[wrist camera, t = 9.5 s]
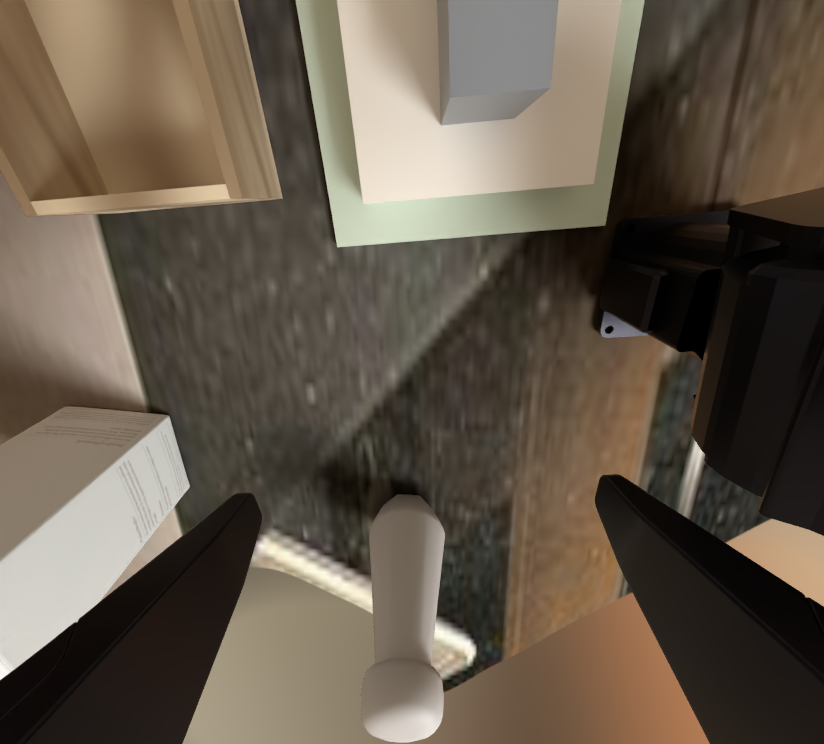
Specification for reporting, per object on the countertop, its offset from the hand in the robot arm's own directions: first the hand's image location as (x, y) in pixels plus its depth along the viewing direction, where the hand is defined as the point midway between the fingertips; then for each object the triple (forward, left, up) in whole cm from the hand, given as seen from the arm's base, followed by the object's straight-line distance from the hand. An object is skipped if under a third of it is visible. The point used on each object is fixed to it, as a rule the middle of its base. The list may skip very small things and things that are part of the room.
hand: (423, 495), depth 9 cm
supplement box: (+22, +8, -13) cm, 27 cm away
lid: (-3, -12, -13) cm, 18 cm away
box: (+11, -12, -13) cm, 21 cm away
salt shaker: (+2, +16, -13) cm, 21 cm away
